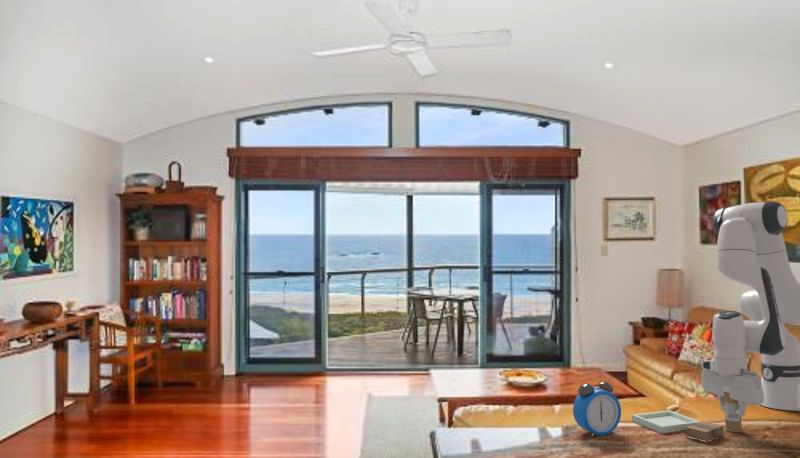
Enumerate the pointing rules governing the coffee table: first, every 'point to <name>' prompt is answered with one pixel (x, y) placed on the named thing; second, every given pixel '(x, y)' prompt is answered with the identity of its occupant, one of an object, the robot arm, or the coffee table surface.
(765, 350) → the robot arm
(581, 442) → the coffee table surface
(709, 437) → the walnut block
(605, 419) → the alarm clock
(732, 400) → the sprinkles bottle
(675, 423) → the dish
